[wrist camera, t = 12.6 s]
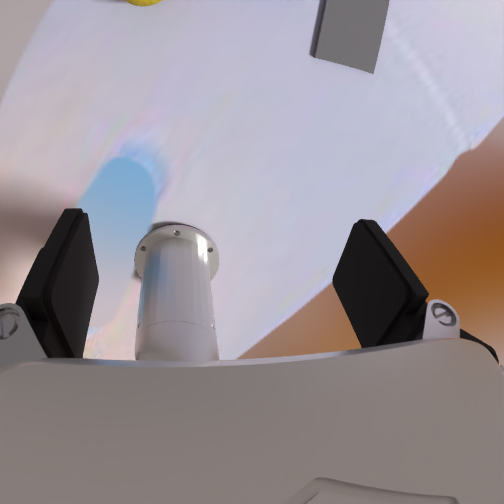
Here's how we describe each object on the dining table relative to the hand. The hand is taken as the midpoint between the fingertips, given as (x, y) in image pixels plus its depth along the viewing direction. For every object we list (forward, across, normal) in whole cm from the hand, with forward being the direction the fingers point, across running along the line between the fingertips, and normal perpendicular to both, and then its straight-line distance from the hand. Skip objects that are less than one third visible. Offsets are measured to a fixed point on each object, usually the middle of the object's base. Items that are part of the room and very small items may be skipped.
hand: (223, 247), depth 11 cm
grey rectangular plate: (+28, -16, -12) cm, 35 cm away
